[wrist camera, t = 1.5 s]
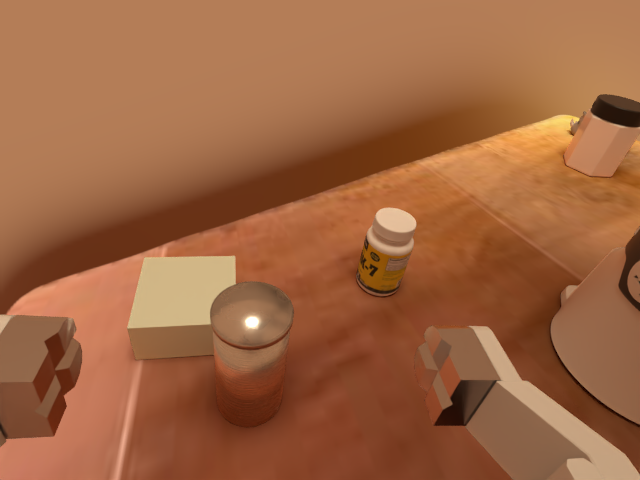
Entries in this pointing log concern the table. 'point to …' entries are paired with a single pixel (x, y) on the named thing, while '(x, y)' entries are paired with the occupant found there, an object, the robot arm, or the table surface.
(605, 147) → the jar
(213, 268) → the block
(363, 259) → the supplement bottle
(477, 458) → the table surface
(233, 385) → the clear glass canister
